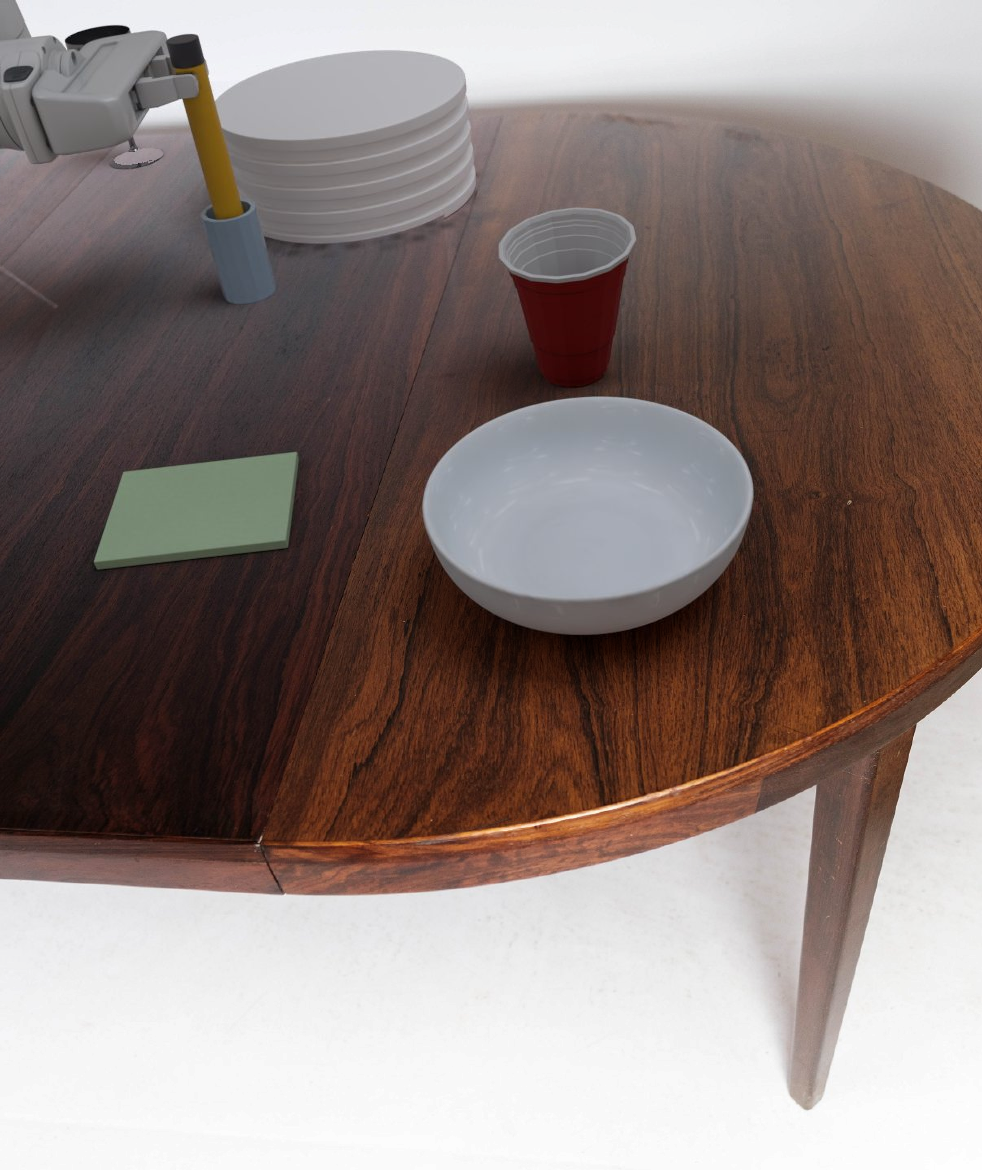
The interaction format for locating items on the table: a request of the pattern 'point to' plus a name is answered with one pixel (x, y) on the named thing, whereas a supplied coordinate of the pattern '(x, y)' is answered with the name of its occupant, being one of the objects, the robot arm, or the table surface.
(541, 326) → the plastic cup
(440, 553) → the serving bowl
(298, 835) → the table surface
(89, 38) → the wine glass
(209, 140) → the marker
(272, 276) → the pen pot
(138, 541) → the felt mat
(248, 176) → the plate stack
